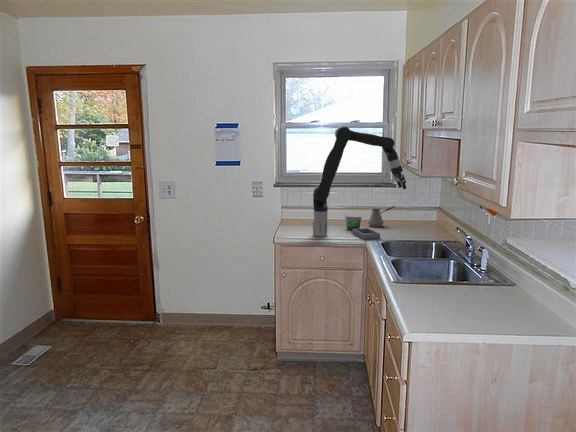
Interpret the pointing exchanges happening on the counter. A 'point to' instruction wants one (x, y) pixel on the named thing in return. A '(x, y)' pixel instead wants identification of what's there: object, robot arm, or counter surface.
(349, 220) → the food container
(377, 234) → the tray
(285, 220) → the counter surface
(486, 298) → the counter surface
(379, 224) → the coffee pot
